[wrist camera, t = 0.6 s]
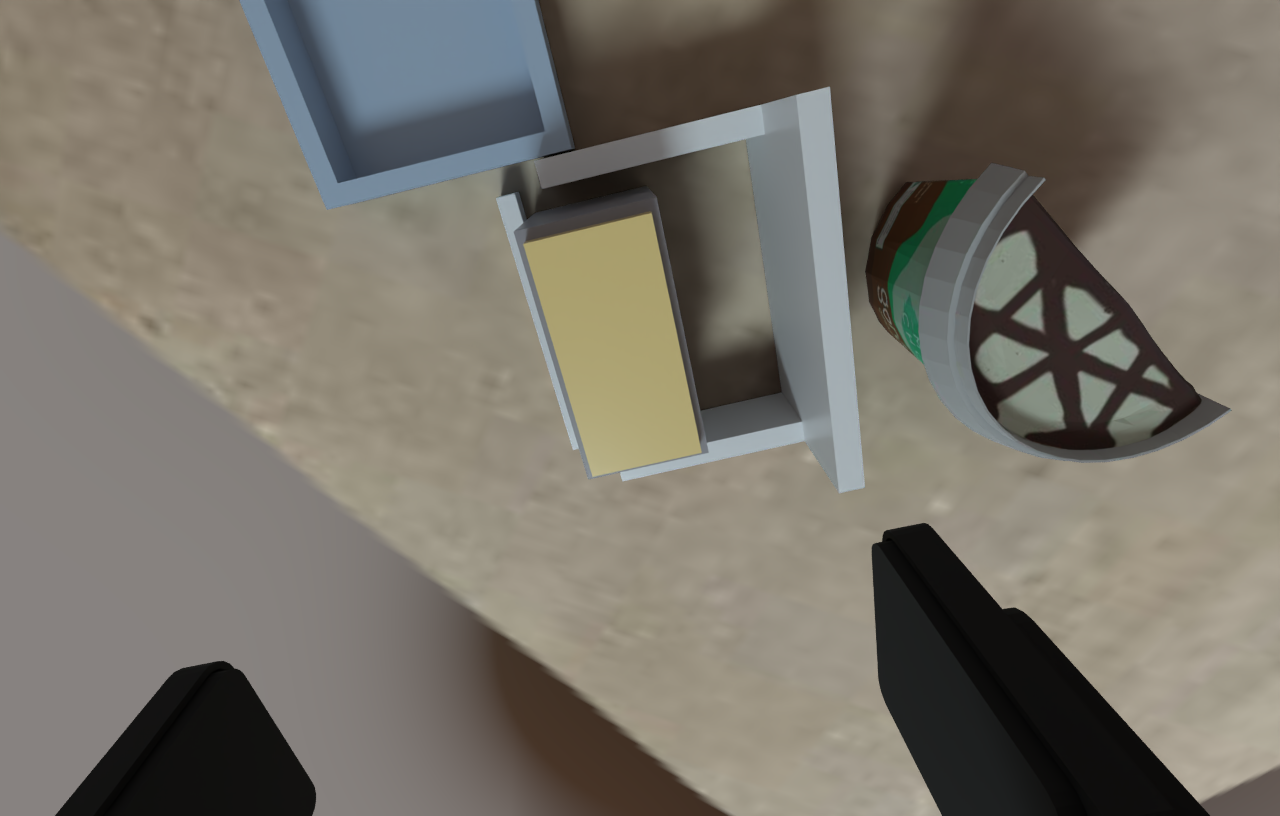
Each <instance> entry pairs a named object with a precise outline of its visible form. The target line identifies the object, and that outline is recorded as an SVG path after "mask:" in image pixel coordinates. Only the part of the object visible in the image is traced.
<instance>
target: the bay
mask: <svg viewBox="0 0 1280 816" xmlns="http://www.w3.org/2000/svg"><path fill="white" fill-rule="evenodd" d="M743 139H746V144H747V151H748V158H749V165H750V172H751V179H752V187H753V194H754V201H755V208H756V215H757V222H758V229H759V236H760V243H761V250H762V257H763V264H764V271H765V278H766V285H767V292H768V299H769V306H770V313H771V320H772V328H773V335H774V342H775V349H776V356H777V363H778V370H779V377H780V384H781V391H782V392H781V393H777V394H772V395H768V396H763V397H759V398H754V399H750V400H746V401H741V402H737V403H732V404H728V405H723V406H719V407H714V408H710V409H706V410H701V411H700V412H701V417H702V422H703V427H704V432H705V437H706V441H707V446H708V451H709V453H706V454H701V455H697V456H692V457H688V458H683V459H679V460H674V461H669V462H665V463H660V464H656V465H651V466H647V467H642V468H638V469H633V470H629V471H624V472H620V474H621V478H622V481H626V480H630V479H635V478H639V477H644V476H649V475H653V474H658V473H662V472H667V471H671V470H676V469H680V468H685V467H689V466H694V465H698V464H703V463H707V462H712V461H716V460H721V459H725V458H730V457H735V456H739V455H744V454H748V453H753V452H757V451H762V450H766V449H771V448H775V447H780V446H784V445H789V444H793V443H798V442H802V441H805V442H806V444H807V445H808V447H809V448H810V450H811V451H812V453H813V454H814V456H815V457H816V459H817V460H818V462H819V463H820V465H821V467H822V468H823V470H824V471H825V473H826V474H827V476H828V477H829V479H830V480H831V482H832V483H833V485H834V486H835V488H836V489H837V491H838V492H839V493H842V492H847V491H851V490H856V489H861V488H865V484H864V472H863V461H862V449H861V438H860V426H859V415H858V403H857V392H856V380H855V369H854V358H853V346H852V335H851V323H850V312H849V300H848V289H847V277H846V266H845V255H844V243H843V232H842V220H841V209H840V197H839V186H838V174H837V163H836V152H835V140H834V129H833V117H832V106H831V94H830V87H826V88H822V89H818V90H814V91H810V92H806V93H802V94H798V95H794V96H791V97H787V98H783V99H780V100H776V101H772V102H769V103H765V104H762V105H758V106H754V107H750V108H746V109H742V110H737V111H733V112H729V113H725V114H721V115H717V116H713V117H709V118H705V119H701V120H697V121H693V122H689V123H685V124H681V125H677V126H673V127H669V128H665V129H661V130H657V131H653V132H649V133H645V134H641V135H637V136H633V137H629V138H625V139H621V140H617V141H613V142H609V143H605V144H600V145H596V146H592V147H588V148H584V149H580V150H576V151H572V152H568V153H564V154H560V155H556V156H552V157H548V158H544V159H540V160H536V161H534V163H535V166H536V170H537V173H538V177H539V181H540V184H541V188H542V189H544V188H548V187H552V186H556V185H560V184H564V183H569V182H573V181H577V180H581V179H585V178H589V177H593V176H597V175H601V174H605V173H609V172H613V171H617V170H621V169H625V168H630V167H634V166H638V165H642V164H646V163H650V162H654V161H658V160H662V159H666V158H670V157H674V156H678V155H682V154H687V153H691V152H695V151H699V150H703V149H707V148H711V147H715V146H719V145H723V144H727V143H731V142H735V141H739V140H743ZM496 200H497V203H498V207H499V210H500V213H501V216H502V220H503V223H504V226H505V229H506V233H507V236H508V239H509V242H510V246H511V249H512V252H513V256H514V259H515V262H516V265H517V269H518V272H519V275H520V278H521V282H522V285H523V288H524V291H525V295H526V298H527V301H528V304H529V308H530V311H531V314H532V317H533V321H534V324H535V327H536V331H537V334H538V337H539V340H540V344H541V347H542V350H543V353H544V357H545V360H546V363H547V366H548V370H549V373H550V376H551V379H552V383H553V386H554V389H555V393H556V396H557V399H558V402H559V406H560V409H561V412H562V415H563V419H564V422H565V425H566V428H567V432H568V435H569V438H570V441H571V445H572V448H573V450H575V449H579V447H578V444H577V441H576V437H575V434H574V431H573V427H572V424H571V421H570V417H569V414H568V411H567V407H566V404H565V401H564V397H563V394H562V391H561V388H560V384H559V381H558V378H557V374H556V371H555V368H554V364H553V361H552V358H551V354H550V351H549V348H548V344H547V341H546V338H545V334H544V331H543V328H542V325H541V321H540V318H539V315H538V311H537V308H536V305H535V301H534V298H533V295H532V291H531V288H530V285H529V281H528V278H527V275H526V271H525V268H524V265H523V262H522V258H521V255H520V252H519V248H518V245H517V242H516V238H515V235H514V231H515V230H516V229H517V228H518V227H519V226H520V225H522V224H523V223H524V222H525V221H526V220H527V218H526V215H525V212H524V208H523V205H522V201H521V198H520V194H519V192H515V193H511V194H507V195H503V196H500V197H497V198H496Z"/></svg>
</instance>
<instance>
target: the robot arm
mask: <svg viewBox="0 0 1280 816" xmlns="http://www.w3.org/2000/svg"><path fill="white" fill-rule="evenodd" d="M872 567H873V586H874V604H875V623H876V642H877V661H878V678H879V684H880V689H881V692H882V695H883V698H884V701H885V703H886V705H887V707H888V709H889V711H890V713H891V715H892V717H893V719H894V721H895V723H896V725H897V727H898V729H899V731H900V733H901V735H902V737H903V739H904V741H905V743H906V745H907V747H908V749H909V751H910V753H911V755H912V757H913V759H914V761H915V763H916V765H917V767H918V769H919V771H920V773H921V775H922V777H923V779H924V781H925V783H926V785H927V787H928V789H929V791H930V793H931V795H932V796H933V798H934V800H935V802H936V804H937V806H938V808H939V810H940V812H941V814H942V816H1210V815H1209V814H1208V813H1207V812H1206V811H1205V809H1204V808H1203V807H1202V806H1201V805H1200V804H1199V803H1198V802H1197V801H1196V800H1195V798H1194V797H1193V796H1192V795H1191V794H1190V793H1189V792H1188V791H1187V790H1186V788H1185V787H1184V786H1183V785H1182V784H1181V783H1180V782H1179V781H1178V780H1177V779H1176V777H1175V776H1174V775H1173V774H1172V773H1171V772H1170V771H1169V770H1168V769H1167V768H1166V766H1165V765H1164V764H1163V763H1162V762H1161V761H1160V760H1159V759H1158V758H1157V757H1156V755H1155V754H1154V753H1153V752H1152V751H1151V750H1150V749H1149V748H1148V747H1147V745H1146V744H1145V743H1144V742H1143V741H1142V740H1141V739H1140V738H1139V737H1138V736H1137V734H1136V733H1135V732H1134V731H1133V730H1132V729H1131V728H1130V727H1129V726H1128V725H1127V723H1126V722H1125V721H1124V720H1123V719H1122V718H1121V717H1120V716H1119V715H1118V713H1117V712H1116V711H1115V710H1114V709H1113V708H1112V707H1111V706H1110V705H1109V704H1108V702H1107V701H1106V700H1105V699H1104V698H1103V697H1102V696H1101V695H1100V694H1099V693H1098V691H1097V690H1096V689H1095V688H1094V687H1093V686H1092V685H1091V684H1090V683H1089V681H1088V680H1087V679H1086V678H1085V677H1084V676H1083V675H1082V674H1081V673H1080V672H1079V670H1078V669H1077V668H1076V667H1075V666H1074V665H1073V664H1072V663H1071V662H1070V661H1069V659H1068V658H1067V657H1066V656H1065V655H1064V654H1063V653H1062V652H1061V651H1060V649H1059V648H1058V647H1057V646H1056V645H1055V644H1054V643H1053V642H1052V641H1051V640H1050V638H1049V637H1048V636H1047V635H1046V634H1045V633H1044V632H1043V631H1042V630H1041V629H1040V627H1039V626H1038V625H1037V624H1036V623H1035V622H1034V621H1033V620H1032V619H1031V618H1030V617H1029V616H1028V615H1027V614H1025V613H1024V612H1023V611H1021V610H1019V609H1017V608H1007V609H1002V608H1001V607H1000V606H999V605H998V604H997V602H996V601H995V600H994V599H993V598H992V597H991V595H990V594H989V593H988V592H987V591H986V590H985V588H984V587H983V586H982V585H981V584H980V583H979V582H978V580H977V579H976V578H975V577H974V576H973V575H972V573H971V572H970V571H969V570H968V569H967V568H966V566H965V565H964V564H963V563H962V562H961V561H960V559H959V558H958V557H957V556H956V555H955V554H954V553H953V551H952V550H951V549H950V548H949V547H948V546H947V544H946V543H945V542H944V541H943V540H942V539H941V537H940V536H939V535H938V534H937V533H936V532H935V530H934V529H933V528H932V527H931V526H929V525H928V524H926V523H921V524H916V525H911V526H906V527H901V528H896V529H891V530H886V531H885V532H884V534H883V539H882V542H879V543H875V544H873V546H872ZM315 803H316V792H315V787H314V785H313V783H312V781H311V780H310V778H309V776H308V775H307V773H306V772H305V770H304V768H303V767H302V765H301V764H300V762H299V761H298V759H297V757H296V756H295V754H294V753H293V751H292V750H291V748H290V746H289V745H288V743H287V742H286V740H285V738H284V737H283V735H282V734H281V732H280V730H279V729H278V727H277V726H276V724H275V723H274V721H273V719H272V718H271V716H270V715H269V713H268V711H267V710H266V708H265V707H264V705H263V704H262V702H261V700H260V699H259V697H258V696H257V694H256V692H255V691H254V689H253V688H252V686H251V684H250V683H249V681H248V680H247V678H246V677H245V675H244V674H243V673H242V672H241V671H240V670H238V669H234V668H233V666H232V665H230V664H229V663H227V662H224V661H217V662H212V663H207V664H202V665H197V666H191V667H186V668H182V669H180V670H178V671H176V672H174V673H173V674H172V675H171V676H170V677H169V678H168V679H167V680H166V681H165V683H164V684H163V685H162V686H161V688H160V689H159V690H158V691H157V692H156V694H155V695H154V696H153V697H152V699H151V700H150V701H149V702H148V703H147V705H146V706H145V707H144V708H143V709H142V711H141V712H140V713H139V714H138V715H137V717H136V718H135V719H134V720H133V722H132V723H131V724H130V725H129V727H128V728H127V729H126V730H125V731H124V733H123V734H122V735H121V736H120V737H119V739H118V740H117V741H116V742H115V744H114V745H113V746H112V747H111V748H110V749H109V751H108V752H107V753H106V755H105V756H104V757H103V758H102V759H101V760H100V762H99V763H98V764H97V765H96V767H95V768H94V769H93V770H92V771H91V773H90V774H89V775H88V776H87V777H86V779H85V780H84V781H83V782H82V784H81V785H80V786H79V787H78V788H77V790H76V791H75V792H74V793H73V794H72V796H71V797H70V798H69V799H68V800H67V802H66V803H65V804H64V805H63V807H62V808H61V809H60V810H59V811H58V813H57V814H56V815H55V816H312V814H313V811H314V809H315Z"/></svg>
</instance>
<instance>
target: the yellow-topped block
mask: <svg viewBox="0 0 1280 816" xmlns="http://www.w3.org/2000/svg"><path fill="white" fill-rule="evenodd" d="M514 235H515V238H516V242H517V245H518V248H519V252H520V255H521V258H522V262H523V265H524V268H525V271H526V275H527V278H528V281H529V285H530V288H531V291H532V295H533V298H534V301H535V305H536V308H537V311H538V315H539V318H540V321H541V325H542V328H543V331H544V334H545V338H546V341H547V344H548V348H549V351H550V354H551V358H552V361H553V364H554V368H555V371H556V374H557V378H558V381H559V384H560V388H561V391H562V394H563V397H564V401H565V404H566V407H567V411H568V414H569V417H570V421H571V424H572V427H573V431H574V434H575V437H576V441H577V444H578V447H579V450H580V454H581V457H582V460H583V464H584V467H585V470H586V474H587V477H588V479H593V478H597V477H602V476H606V475H611V474H615V473H620V472H624V471H629V470H633V469H638V468H642V467H647V466H651V465H656V464H660V463H665V462H669V461H674V460H679V459H683V458H688V457H692V456H697V455H701V454H706V453H709V451H708V446H707V441H706V437H705V432H704V427H703V422H702V417H701V412H700V407H699V402H698V397H697V392H696V387H695V383H694V378H693V373H692V368H691V363H690V358H689V353H688V348H687V343H686V338H685V333H684V329H683V324H682V319H681V314H680V309H679V304H678V299H677V294H676V289H675V284H674V279H673V274H672V270H671V265H670V260H669V255H668V250H667V245H666V240H665V235H664V230H663V225H662V220H661V216H660V211H659V206H658V201H657V197H656V196H655V195H654V193H653V192H652V191H651V190H650V189H649V188H648V187H647V186H643V187H639V188H635V189H631V190H627V191H623V192H619V193H614V194H610V195H606V196H602V197H598V198H594V199H590V200H586V201H582V202H577V203H573V204H569V205H565V206H561V207H557V208H553V209H549V210H545V211H541V212H536V213H534V214H533V215H532V216H531V217H529V218H528V219H527V220H526V221H525V222H524V223H523V224H522V225H520V226H519V227H518V228H517V229H516V230H515V231H514Z"/></svg>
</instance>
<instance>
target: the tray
mask: <svg viewBox="0 0 1280 816" xmlns="http://www.w3.org/2000/svg"><path fill="white" fill-rule="evenodd" d="M239 1H240V3H241V5H242V8H243V10H244V13H245V15H246V17H247V20H248V22H249V24H250V27H251V29H252V32H253V34H254V36H255V39H256V41H257V44H258V46H259V48H260V51H261V53H262V56H263V58H264V60H265V63H266V65H267V68H268V70H269V72H270V75H271V77H272V80H273V82H274V84H275V87H276V89H277V92H278V94H279V96H280V99H281V101H282V104H283V106H284V108H285V111H286V113H287V116H288V118H289V120H290V123H291V125H292V127H293V130H294V132H295V135H296V137H297V139H298V142H299V144H300V147H301V149H302V151H303V154H304V156H305V159H306V161H307V163H308V166H309V168H310V171H311V173H312V175H313V178H314V180H315V183H316V185H317V187H318V190H319V192H320V195H321V197H322V199H323V202H324V204H325V207H326V209H327V210H328V209H332V208H337V207H341V206H345V205H350V204H354V203H358V202H362V201H366V200H370V199H374V198H378V197H382V196H386V195H391V194H395V193H399V192H403V191H407V190H411V189H415V188H419V187H423V186H427V185H431V184H435V183H439V182H443V181H447V180H451V179H455V178H459V177H463V176H467V175H471V174H475V173H479V172H483V171H487V170H491V169H495V168H499V167H503V166H507V165H511V164H515V163H519V162H523V161H527V160H531V159H535V158H539V157H544V156H548V155H552V154H556V153H560V152H564V151H568V150H572V149H575V146H574V142H573V138H572V134H571V130H570V126H569V122H568V118H567V114H566V110H565V106H564V102H563V98H562V94H561V90H560V85H559V81H558V77H557V73H556V69H555V65H554V61H553V57H552V53H551V49H550V45H549V41H548V37H547V33H546V29H545V25H544V21H543V17H542V13H541V9H540V5H539V1H538V0H239Z"/></svg>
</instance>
